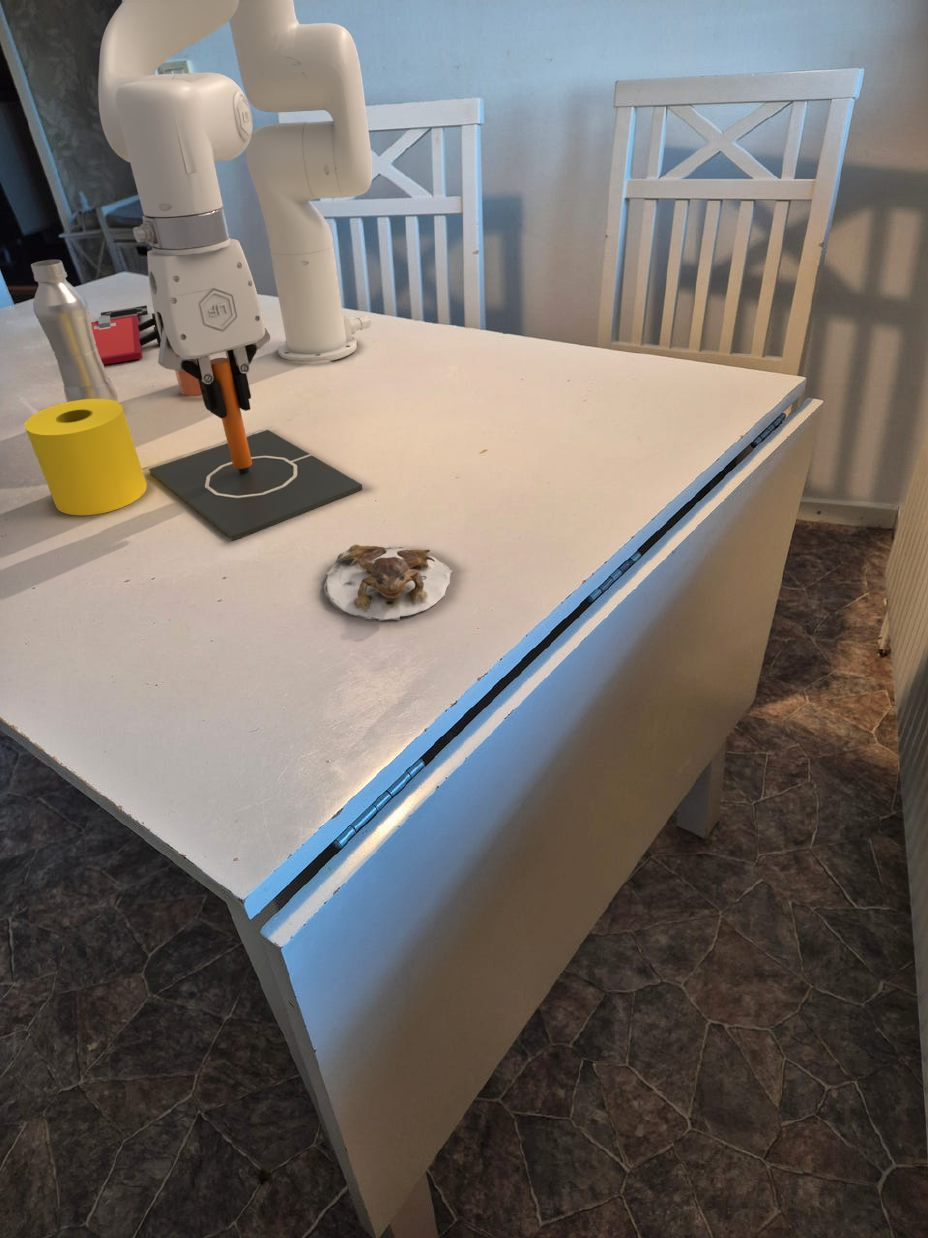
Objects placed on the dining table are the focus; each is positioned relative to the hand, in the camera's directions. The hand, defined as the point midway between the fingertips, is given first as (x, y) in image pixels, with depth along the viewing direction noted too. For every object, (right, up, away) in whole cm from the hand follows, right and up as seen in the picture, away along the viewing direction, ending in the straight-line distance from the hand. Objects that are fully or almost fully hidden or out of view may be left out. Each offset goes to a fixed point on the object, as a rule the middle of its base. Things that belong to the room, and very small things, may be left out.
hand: (230, 409), depth 90 cm
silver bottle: (-25, +5, +23) cm, 35 cm away
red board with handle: (-35, +26, +53) cm, 69 cm away
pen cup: (-13, +10, +28) cm, 32 cm away
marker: (0, -6, +4) cm, 8 cm away
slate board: (+2, -7, +4) cm, 8 cm away
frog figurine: (+19, -20, -15) cm, 32 cm away
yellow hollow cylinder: (-16, -9, +3) cm, 18 cm away
